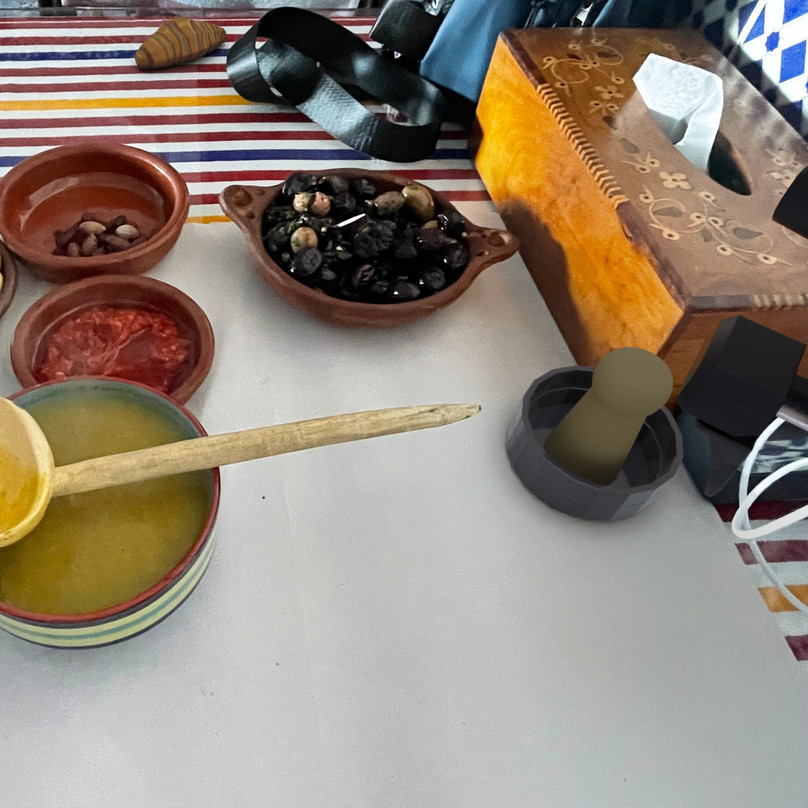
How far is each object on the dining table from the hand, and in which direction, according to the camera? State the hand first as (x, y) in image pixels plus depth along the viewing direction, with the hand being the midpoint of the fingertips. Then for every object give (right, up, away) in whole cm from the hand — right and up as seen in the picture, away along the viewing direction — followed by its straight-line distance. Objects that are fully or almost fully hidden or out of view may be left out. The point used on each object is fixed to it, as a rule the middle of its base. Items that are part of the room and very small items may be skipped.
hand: (790, 532), depth 43 cm
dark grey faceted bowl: (-4, +3, +19) cm, 19 cm away
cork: (-4, +3, +18) cm, 19 cm away
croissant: (-40, +52, +55) cm, 85 cm away
